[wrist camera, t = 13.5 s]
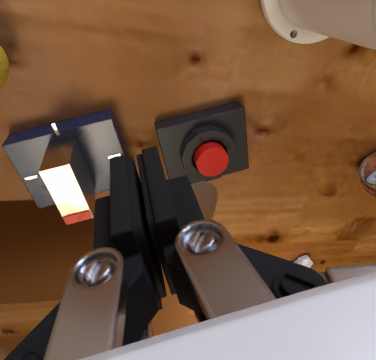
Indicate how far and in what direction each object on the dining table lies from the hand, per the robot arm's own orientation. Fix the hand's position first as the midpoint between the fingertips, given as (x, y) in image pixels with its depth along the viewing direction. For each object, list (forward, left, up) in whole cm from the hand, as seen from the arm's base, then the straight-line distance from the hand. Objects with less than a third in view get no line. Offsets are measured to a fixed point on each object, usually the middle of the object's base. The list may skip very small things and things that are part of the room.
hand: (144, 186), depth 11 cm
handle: (+9, +11, -24) cm, 28 cm away
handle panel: (+9, +11, -27) cm, 31 cm away
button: (-7, +14, -23) cm, 28 cm away
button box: (-7, +14, -27) cm, 31 cm away
